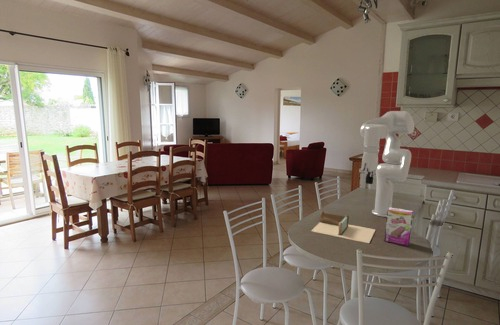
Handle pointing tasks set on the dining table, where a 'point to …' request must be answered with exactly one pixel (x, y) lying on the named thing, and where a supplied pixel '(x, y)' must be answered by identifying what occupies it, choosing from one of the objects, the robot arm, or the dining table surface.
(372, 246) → the dining table surface
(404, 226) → the candy bar box
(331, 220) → the fence base
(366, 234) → the card
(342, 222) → the hinged panel
